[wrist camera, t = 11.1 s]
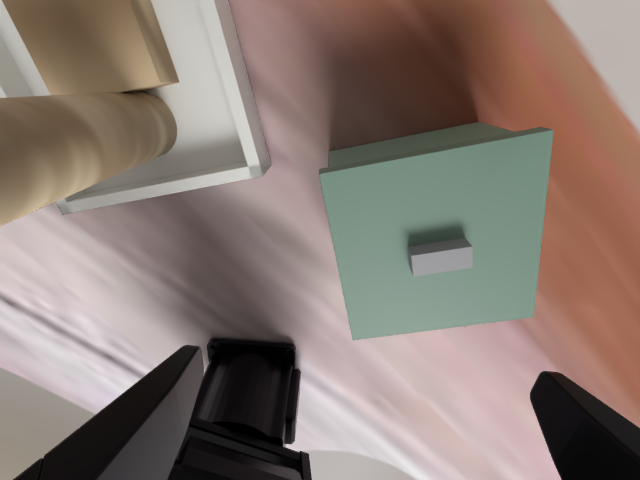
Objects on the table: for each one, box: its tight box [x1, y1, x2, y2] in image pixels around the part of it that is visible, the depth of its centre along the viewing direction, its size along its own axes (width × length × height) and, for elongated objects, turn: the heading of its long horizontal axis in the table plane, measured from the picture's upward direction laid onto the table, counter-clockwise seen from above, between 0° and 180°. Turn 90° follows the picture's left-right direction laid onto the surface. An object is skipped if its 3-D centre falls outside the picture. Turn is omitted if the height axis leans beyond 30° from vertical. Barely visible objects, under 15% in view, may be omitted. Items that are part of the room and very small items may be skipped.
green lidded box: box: [319, 122, 554, 340], centre depth 16 cm, size 9×9×7 cm
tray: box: [0, 0, 271, 215], centre depth 15 cm, size 13×11×2 cm
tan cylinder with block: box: [0, 0, 179, 226], centre depth 10 cm, size 8×5×13 cm, turn 12°
